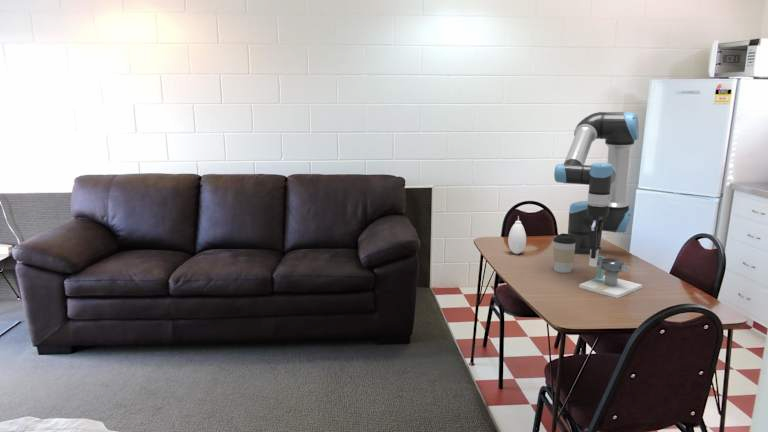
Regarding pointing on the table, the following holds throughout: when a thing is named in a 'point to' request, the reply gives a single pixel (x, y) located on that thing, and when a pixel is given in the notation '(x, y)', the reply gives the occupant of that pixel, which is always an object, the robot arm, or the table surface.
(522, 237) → the sauce bottle
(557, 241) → the coffee cup
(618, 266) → the knob
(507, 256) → the table surface
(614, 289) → the lock base
